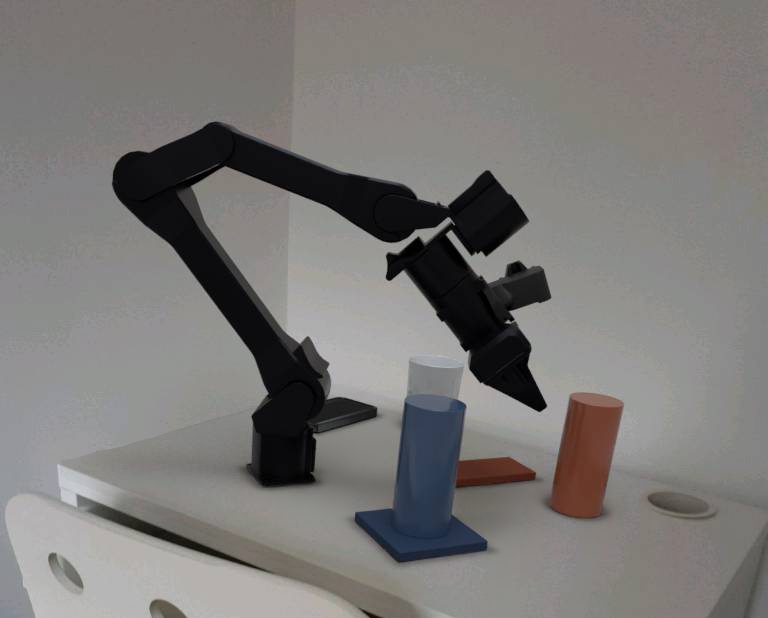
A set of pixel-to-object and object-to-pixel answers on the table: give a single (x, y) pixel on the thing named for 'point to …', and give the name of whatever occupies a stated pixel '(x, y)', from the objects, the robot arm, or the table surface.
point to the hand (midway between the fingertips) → (537, 398)
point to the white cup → (434, 375)
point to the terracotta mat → (492, 471)
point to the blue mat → (419, 548)
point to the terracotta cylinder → (585, 454)
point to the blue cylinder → (427, 465)
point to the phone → (341, 413)
